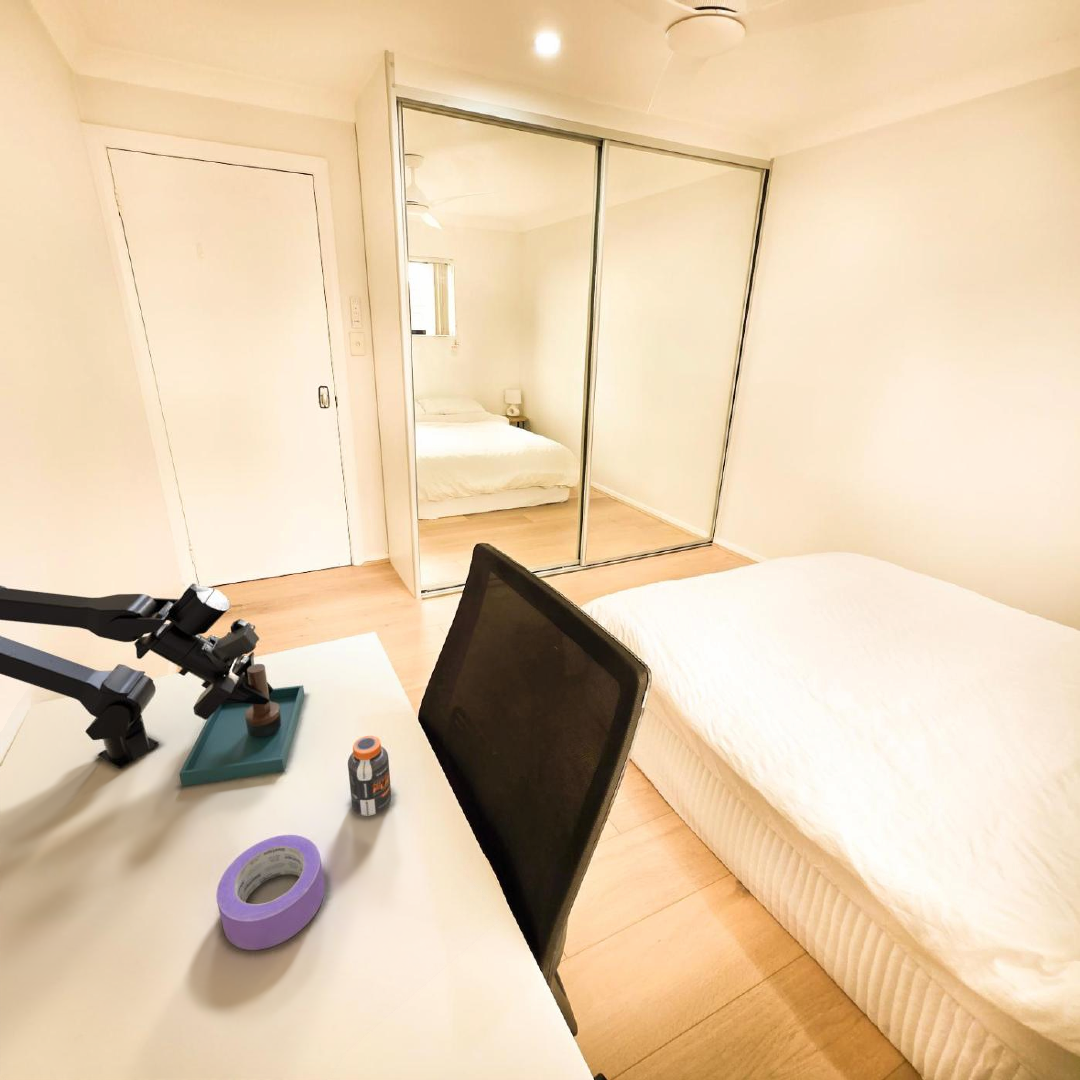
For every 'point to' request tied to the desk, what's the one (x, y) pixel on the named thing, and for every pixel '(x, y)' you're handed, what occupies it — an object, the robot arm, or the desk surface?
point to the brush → (261, 706)
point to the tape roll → (278, 916)
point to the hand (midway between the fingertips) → (269, 697)
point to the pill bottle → (369, 776)
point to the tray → (242, 742)
